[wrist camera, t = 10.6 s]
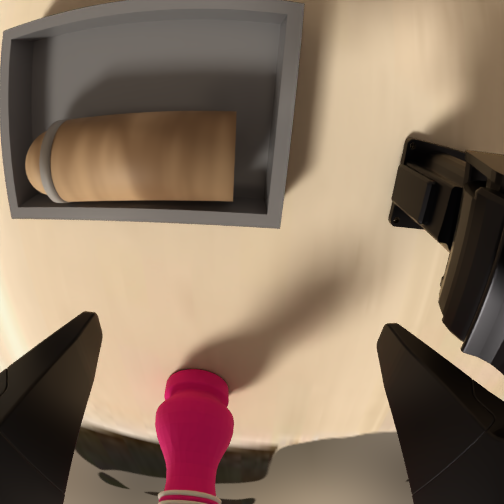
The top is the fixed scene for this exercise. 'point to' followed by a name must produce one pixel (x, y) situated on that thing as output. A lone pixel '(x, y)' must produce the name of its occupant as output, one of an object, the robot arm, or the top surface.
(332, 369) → the top surface
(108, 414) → the top surface
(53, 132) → the shaker
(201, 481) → the pepper mill
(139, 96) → the dish
